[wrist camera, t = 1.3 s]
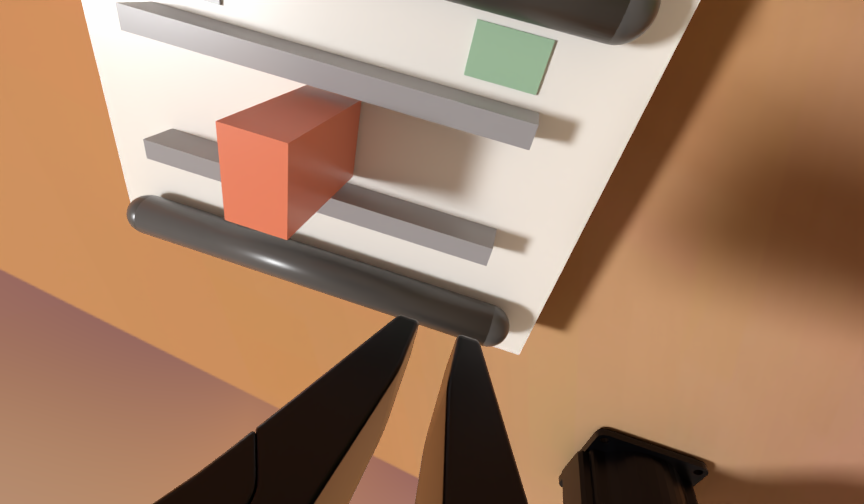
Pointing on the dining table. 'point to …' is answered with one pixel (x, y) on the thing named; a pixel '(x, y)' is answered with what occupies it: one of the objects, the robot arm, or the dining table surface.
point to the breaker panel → (394, 137)
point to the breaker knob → (286, 158)
